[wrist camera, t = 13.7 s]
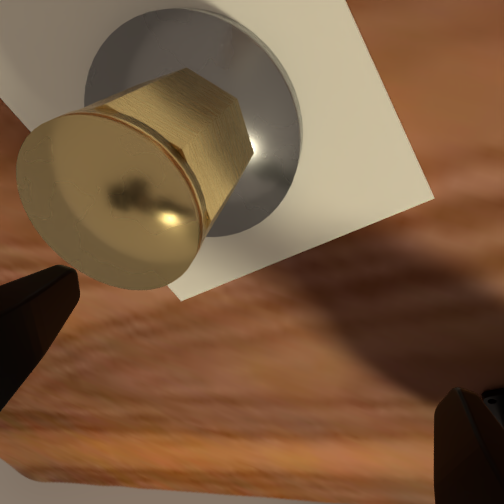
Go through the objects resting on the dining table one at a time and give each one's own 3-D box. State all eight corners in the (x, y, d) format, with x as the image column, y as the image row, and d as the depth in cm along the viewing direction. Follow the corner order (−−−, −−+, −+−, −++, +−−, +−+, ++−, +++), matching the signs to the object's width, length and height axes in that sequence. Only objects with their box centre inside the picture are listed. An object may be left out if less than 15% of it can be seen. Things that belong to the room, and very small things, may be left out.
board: (431, 190, 17) (434, 198, 17) (185, 293, 25) (181, 301, 24) (200, -321, 10) (190, -341, 10) (-40, 35, 18) (-54, 36, 17)
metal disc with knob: (342, 173, 17) (337, 248, 12) (185, 250, 22) (136, 327, 17) (215, -58, 13) (131, -88, 8) (59, 96, 18) (-53, 137, 13)
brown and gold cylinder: (148, 40, 14) (23, 70, 9) (275, 118, 15) (230, 190, 10) (114, 161, 18) (10, 234, 12) (219, 220, 18) (163, 315, 13)
